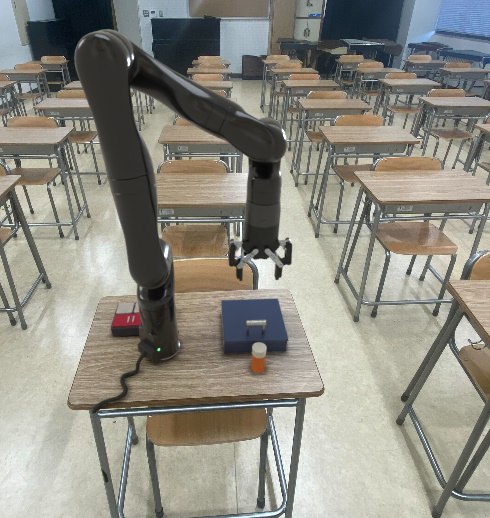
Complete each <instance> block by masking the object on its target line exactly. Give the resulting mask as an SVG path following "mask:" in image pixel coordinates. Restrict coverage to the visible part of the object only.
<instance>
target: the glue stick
mask: <svg viewBox="0 0 490 518" xmlns="http://www.w3.org/2000/svg"><path fill="white" fill-rule="evenodd" d="M266 349H267V348H266V345H265V344H263V343H261V342H257V343H254V344H253V346H252V353H251V365H250V366H251V370H252V372H254V373H256V374H257V373H258V374H260V373H263V372H264V371H265V368H266V357H267V352H266Z"/></svg>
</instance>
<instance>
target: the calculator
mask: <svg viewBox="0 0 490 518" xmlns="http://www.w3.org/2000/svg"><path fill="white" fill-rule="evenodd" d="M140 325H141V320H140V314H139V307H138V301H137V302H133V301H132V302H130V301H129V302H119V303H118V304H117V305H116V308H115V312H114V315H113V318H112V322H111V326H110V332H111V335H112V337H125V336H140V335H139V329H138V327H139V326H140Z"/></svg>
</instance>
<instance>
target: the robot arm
mask: <svg viewBox="0 0 490 518" xmlns="http://www.w3.org/2000/svg"><path fill="white" fill-rule="evenodd" d="M74 66H75V70H76V74H77V77H78V79H79V83H80V85H81V88H82V91H83V93H84V96H85V99H86V102H87V105H88V106H89V110H90V113H91V116H92V119H93V122H94V125H95V126H94V127H95V129H96V134H97V138H98V143H99V147H100V152H101V155H102V159H103V163H104V168H105V169H104V170H105V173H106V177H107V178H106V179H107V181H108V185H109V189H110V193H111V196H112V200H113V202H114V205H115V210H116V214H117V217H118V221H119V223H120V227H121V230H122V234H123V238H124V243H125V249H126V250H125V251H126V257H127V265H128V271H129V275H130V277H131V279H132V280H133V282H134V283H135V284H136V301H137V302H138V307H139V314H140V320H141V325H140V326H139V327H138V329H139V335H138V336H139V340H140V341H139V342H138V343H137V350H138V352H139V353H141V354H140V355H139V357H138V359H137V360H136V363H135V369H134V370H132V371H127V372H124V373H123V374H122V375H121V376H120V379H119V381H120V385H121V386H122V389H123V390H122V392H121V393H120V394H118V395H117V396H114V397H110V398H107V399H103V400H102V401H99V402H98V403H97V404H96V405H95V406H94V407H93V409H92V411H91V413H92V414H96V413H97V412H98V410H99V409H100V408H101V407H102V406H104V405H106V404H110V403H114V402H117V401H120V400H121V399H123V398H124V397H125V396H126V395H127V393H128V385H127V384H126V382H125V378H126V377H131V376H134V375H137V373H139V371H140V369H141V368H140V367H141V366H140V365H141V363H142V361H143V360H144V358H145V357H146V358H147V359H149V360H150V361H152V362H155V363H156V364H159V363H161V362H165V361H168V360H171V359H172V358H174V357H175V356H176V354H177V353H178V351H179V350H180V345H181V344H180V338H179V335H180V330H179V328H178V317H177V305H176V303H177V302H176V295H175V293H176V292H175V290H176V289H175V288H176V287H175V286H176V280H175V277H176V276H175V266H174V255H173V251H172V248H171V246H170V245H169V244H168V243H167V241H166V240H164V239H163V238H161V237H160V234H159V199H158V185H157V179H156V173H155V168H154V163H153V160H152V159H153V158H152V156H151V154H150V151H149V149H148V146H147V143H146V141H145V140H144V138H143V136H142V134H141V132H140V128H139V127H138V124H137V121H136V117H135V111H134V106H133V100H132V92H131V90H133V91H137V92H139V93H141V94H144V95H146V96H148V97H150V98H152V99H153V100H155V101H157V102H159V103H161V104H162V105H164V107H166V108H167V109H169V110H170V111H171V112H173V113H174V114H175V115H177V116H178V117H179V118H180V119H182V120H184V121H185V122H187V123H188V124H190V125H192V126H193V127H195V128H197V129H199V130H201V131H202V132H205V133H207V134H208V135H212V137H215V138H217V139H220V140H221V141H224V142H226V143H227V144H228V145H230V146H231V148H234V149H235V150H237V151H238V152H240V153H241V154H242V155H243V156H245V157H247V159H248V160H247V161H248V173H247V180H246V198H245V204H244V212H243V215H244V221H243V222H244V226H243V230H244V231H243V238H242V240H241V241H239V240H235V238H231V239H230V240H229V246H228V257H227V259H228V265H229V267H231V268H233V267H235V277H236V279H237V280H238V281H239V282H243V278H244V277H243V275H244V274H243V273H244V266H245V265H246V264H248V263H249V262H250V261H251V260H252V259H253V261H254V260H255V261H257V260H268V259H269V258H270V260H271V261H272V262H273V263H274V279H275V281H280V278H282V276H283V267H284V266H291V265H292V263H293V261H292V260H293V242H292V240H291V238H290V237H287V236H286V237H285V239H279V235H280V222H281V212H282V207H281V206H282V205H281V199H282V198H281V197H282V184H283V181H282V180H283V179H282V172H281V163H282V159H283V158H284V156H285V155H286V152H287V148H288V140H287V137H286V134H285V131H284V129H283V127H282V125H281V124H280V122H279V121H277V120H276V119H274V118H272V117H261V118H257V117H255V116H253V115H252V114H249V113H248V112H246V110H245V109H244V108H243V107H242V106H241V105H240V104H239V103H237V102H236V101H234V100H232V99H230V98H228V97H226V96H224V95H223V94H221V93H218V92H216V91H214V90H212V89H211V88H208V87H206V86H204V85H202V84H201V83H198V82H196V81H195V80H192V79H190V78H189V77H187V76H185V75H183V74H181V73H179V72H177V70H174V69H172V68H171V67H169V66H168V65H166V64H164V63H162V62H161V61H159V60H158V59H157V58H155V57H153V56H152V55H151V54H149V53H148V52H146V51H145V50H144V49H142V48H141V47H140V46H138V45H137V44H135V43H134V42H133V41H132V40H131V39H129V38H128V37H126V36H125V35H124V34H122V33H121V32H119V31H118V30H115V29H110V28H108V29H105V28H104V29H99V30H96V31H92V32H89V33H87V34H85V35H84V36H82V37H81V38H80V40H79V41H78V43H77V45H76V47H75V50H74ZM280 247H281V248H282V250H284V257H281V256H280V255H279V254H278V252H277V250H278V249H279V248H280ZM240 248H242V249H243V251H242V252H241V253H240V255H239V256H238V257H237V258H236V252H238V251H239V250H240ZM100 468H101V467H100ZM101 473H102V476H103V479H104V482H105V484H106V483H109V481H110V480H109V475H108V473H107V472H106V471H104V469H103V468H101Z"/></svg>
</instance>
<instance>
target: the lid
mask: <svg viewBox="0 0 490 518" xmlns="http://www.w3.org/2000/svg"><path fill="white" fill-rule="evenodd" d="M221 306H222V316H221V321H222V320H223V331H222V336H223V335H224V343H252V342H281V341H287V342H289V336H288V332H287V328H286V324H285V320H284V316H283V312H282V309H281V304H280V301H279V298H278V297H277V298H276V297H275V298H250V299H248V298H247V299H221V300H220V307H221Z"/></svg>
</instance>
